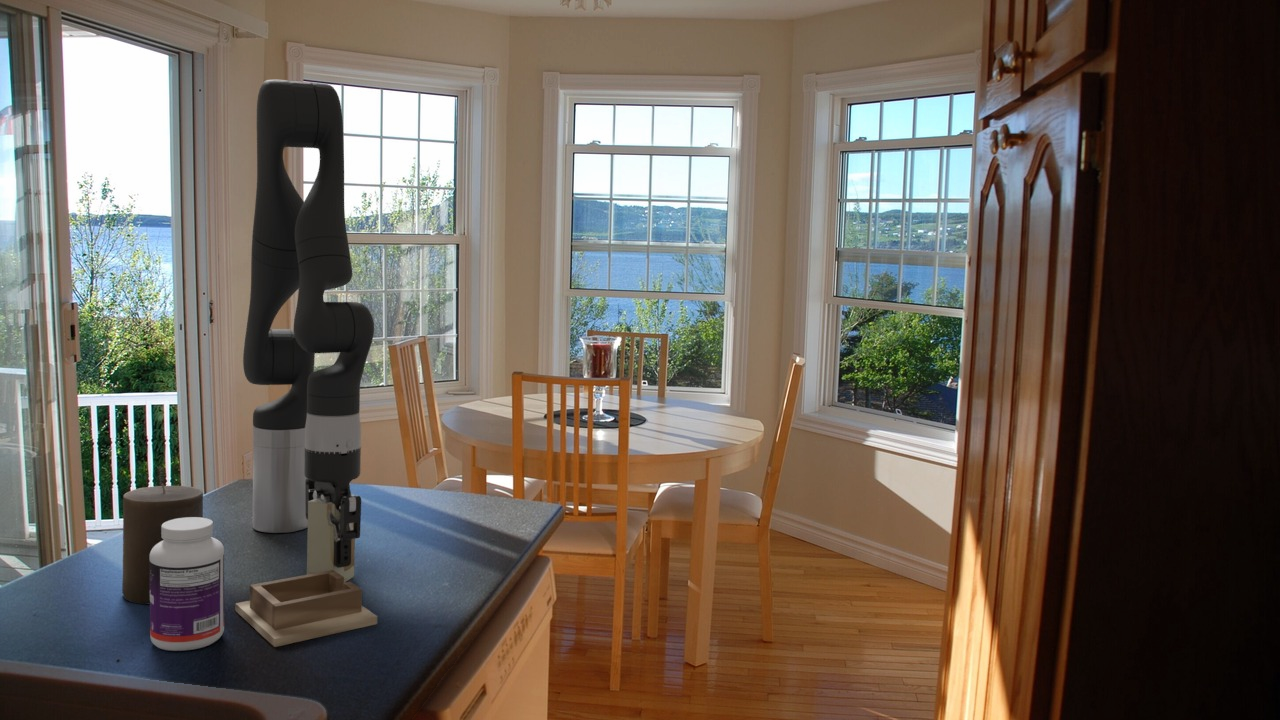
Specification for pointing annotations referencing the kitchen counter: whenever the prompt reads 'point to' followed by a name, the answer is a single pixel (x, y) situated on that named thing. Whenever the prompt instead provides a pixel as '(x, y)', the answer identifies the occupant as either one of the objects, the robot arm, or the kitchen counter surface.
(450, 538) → the kitchen counter surface
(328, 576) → the frame
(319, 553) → the skincare box
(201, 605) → the pill bottle
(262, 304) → the robot arm
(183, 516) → the pillar candle
